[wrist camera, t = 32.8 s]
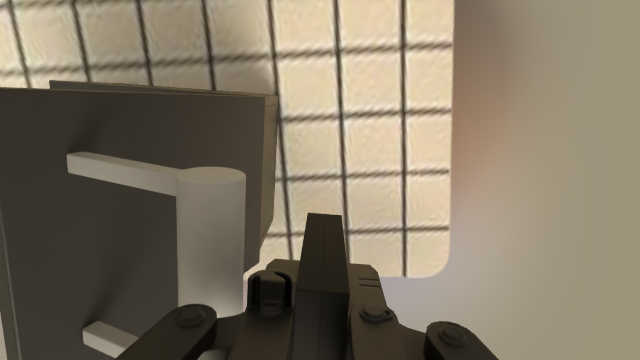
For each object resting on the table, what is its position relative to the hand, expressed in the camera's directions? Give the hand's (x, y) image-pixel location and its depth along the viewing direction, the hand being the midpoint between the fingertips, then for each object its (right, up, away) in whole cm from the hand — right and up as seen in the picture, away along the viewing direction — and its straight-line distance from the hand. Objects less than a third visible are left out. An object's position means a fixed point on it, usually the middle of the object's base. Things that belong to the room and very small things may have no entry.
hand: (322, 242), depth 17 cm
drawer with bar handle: (-8, +1, +3) cm, 8 cm away
